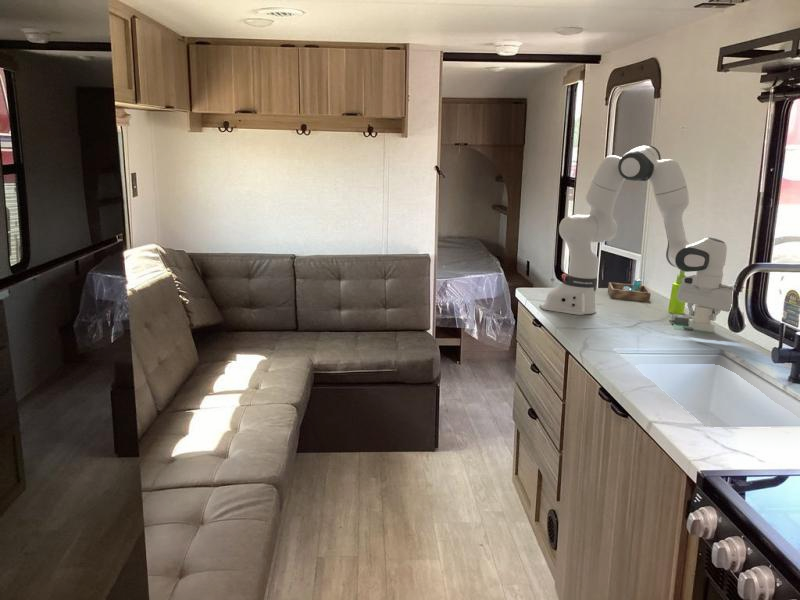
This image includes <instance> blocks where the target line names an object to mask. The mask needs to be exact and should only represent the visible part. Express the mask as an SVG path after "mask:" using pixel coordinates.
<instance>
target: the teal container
mask: <svg viewBox="0 0 800 600" xmlns="http://www.w3.org/2000/svg"><path fill="white" fill-rule="evenodd" d="M632 285H633V289H631V288H630V287H628V286H625V287H623V289H622V290H628V291H638V292H641V286H643V280H642V279H639V278H635V279H633V283H632Z"/></svg>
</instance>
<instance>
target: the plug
mask: <svg viewBox="0 0 800 600" xmlns="http://www.w3.org/2000/svg"><path fill="white" fill-rule="evenodd" d="M714 310H715V309H713V308H708V307H704V306H699V305H695V304H694V309H693V311H694V315H693V316H692V317H693V318H692V319H693V322H694V323H701V324H710V322H712V320H710V316H711V315H714Z"/></svg>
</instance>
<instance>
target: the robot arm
mask: <svg viewBox="0 0 800 600" xmlns="http://www.w3.org/2000/svg"><path fill="white" fill-rule="evenodd" d="M661 157H662V156H661V153H660V151H659V149H657V148H656V147H655V146H653V145H650V144H643V145H640V146H636V147H634V148H631V150H629V151H628V152H625V153H624V154H623V155H622V156H618V155H608V156H605V158H603V160H602V161H601V163H600V164H599V166H598V168H597V170H596V172H595V174H594V175H593V178H592V182H591V183H590V186H589V188H588V191H587V193H586V196H585V199H586V202H587V204H588V205H589V206H590V212H589V213H588V214H572V215H569V216H566V217H565V216H564V218H563V219H561V221H560V223H559V226H558V232H559V236H560V237H561V239H562V240H563V241H564V242H565V244H566V245H567V247H568V251H569V264H568V265H569V267H568V269H569V270H568V274H566V273H562V275H561V279H562V283H560V284H559V285H557V286H555V287H553V288H551V289H550V290H549V291H548V293H547V295H546V298H545V300H542V301H541V302H540V305H539V308H541V309H542V310H544V311H550V312H557V313H564V314H570V315H571V314H572V315H578V316H584V315H590V314H595V313H597V309H596V291H597V287H598V286H597V285H598V277H597V276H598V269H599V268H598V267H599V263H600V262H599V257H598V255H597V254H595V253H594V252H593V250H592V246H591V244H592V243H605V242H608V241H612V240H613V239H615V237H616V236H617V233H618V229H619V228H618V223H617V221H616V219H615V218H614V209H615V208H614V207H615V204H616V202H617V199H618V197H619V194H620V192H621V189H622V188H623V185H624V182H625V181H626V180H628V181H632V182H634V181H635V182H637V181H639V182H646V181H649V182H650V183H651V186H652V189H653V193H654V197H655V201H656V204H657V206H658V210H659V211H660V214H661V216H662V219H663V223H664V229H665V232H666V237H667V246H666V247H667V248H666V251H665V257H666V260H667V263H668V264H669V265H671V267H674V268H677V269H678V270H682V271H685V273H687V272H696V274H693V275H688V276H687V275H686V277H684V278H682V284H681V285H680V286H679V289H678V293H677V299H678V301H681V302H685V304H687V309H688V311H689V313H688V316H691V317H693V315H694V306H695V305H699V306H704V307H708V308H712V309H713V310H714V311H713V315H711V316H710V320H711V322H712V321H713V322H715V321H716V319H717V316H719V314H720V313H721V311H723V312H727V313H728V312H729V311H730V308H731V304H732V291H733V290H734V289H733V288H734V286H732V285H726V284H722V281H723V277H724V268H725V267H724V266H725V265H726V260H727V253H728V252H727V251H728V249H727V247H728V246H727V244H726V242H725V241H723V240H721V239H718V238H713V237H710V236H709V237H708V236H707V237H704V238H703V239H702V240H698V241H696V242H693V243H689V241H688V239H687V238H686V237H687V236H686V233H685V228H684V221H683V215H684V212H685V211H686V209H687V208H688V206H689V201H690V200H689V199H690V198H689V191H688V186H687V182H686V179H685V178H686V177H685V175H684V173H683V171H682V168H681V167H680V164H679V162H677V160H675V159H672V158H671V159H670V158H666V159H661ZM730 312H731V311H730ZM730 312H729V313H730Z"/></svg>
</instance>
